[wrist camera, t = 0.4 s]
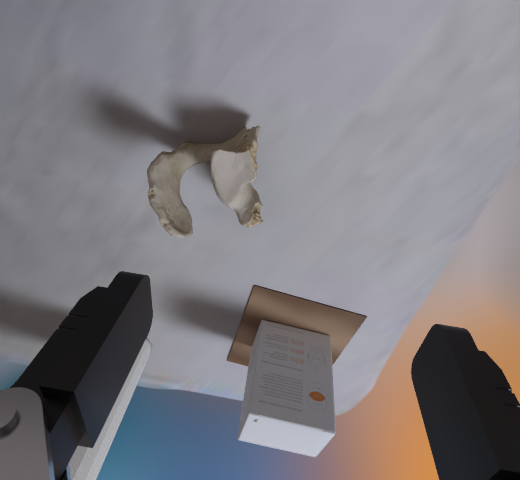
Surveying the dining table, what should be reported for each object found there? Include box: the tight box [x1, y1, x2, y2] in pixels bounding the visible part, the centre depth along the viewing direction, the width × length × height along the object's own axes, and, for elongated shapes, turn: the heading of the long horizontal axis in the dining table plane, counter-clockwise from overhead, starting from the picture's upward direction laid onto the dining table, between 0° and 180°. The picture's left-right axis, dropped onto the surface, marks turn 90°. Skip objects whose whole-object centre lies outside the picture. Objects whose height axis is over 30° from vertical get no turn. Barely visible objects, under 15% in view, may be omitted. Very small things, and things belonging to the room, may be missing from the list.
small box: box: [238, 320, 336, 457], centre depth 36 cm, size 8×6×10 cm
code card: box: [227, 285, 367, 366], centre depth 40 cm, size 14×12×1 cm
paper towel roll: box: [68, 339, 151, 480], centre depth 36 cm, size 7×6×21 cm
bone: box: [147, 126, 263, 237], centre depth 25 cm, size 9×6×10 cm
